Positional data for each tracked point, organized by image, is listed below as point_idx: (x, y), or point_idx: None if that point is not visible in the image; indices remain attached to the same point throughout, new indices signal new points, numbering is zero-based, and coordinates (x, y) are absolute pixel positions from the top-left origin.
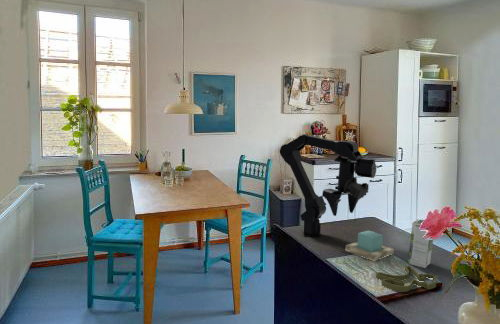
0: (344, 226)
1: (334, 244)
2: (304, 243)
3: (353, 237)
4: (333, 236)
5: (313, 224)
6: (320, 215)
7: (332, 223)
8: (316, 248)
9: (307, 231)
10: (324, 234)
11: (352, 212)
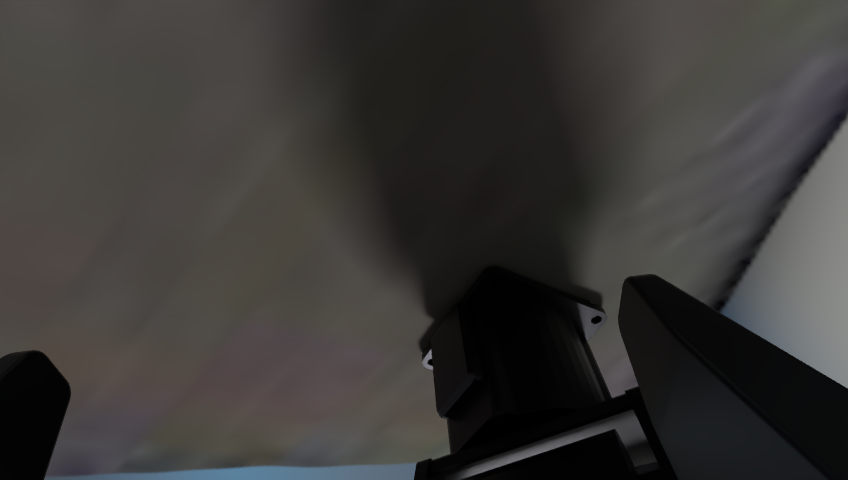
0: (87, 390)
1: (515, 31)
2: (756, 173)
3: (140, 142)
4: (350, 233)
5: (567, 378)
6: (536, 461)
7: (165, 452)
8: (802, 2)
9: (579, 339)
10: (399, 295)
11: (8, 356)
